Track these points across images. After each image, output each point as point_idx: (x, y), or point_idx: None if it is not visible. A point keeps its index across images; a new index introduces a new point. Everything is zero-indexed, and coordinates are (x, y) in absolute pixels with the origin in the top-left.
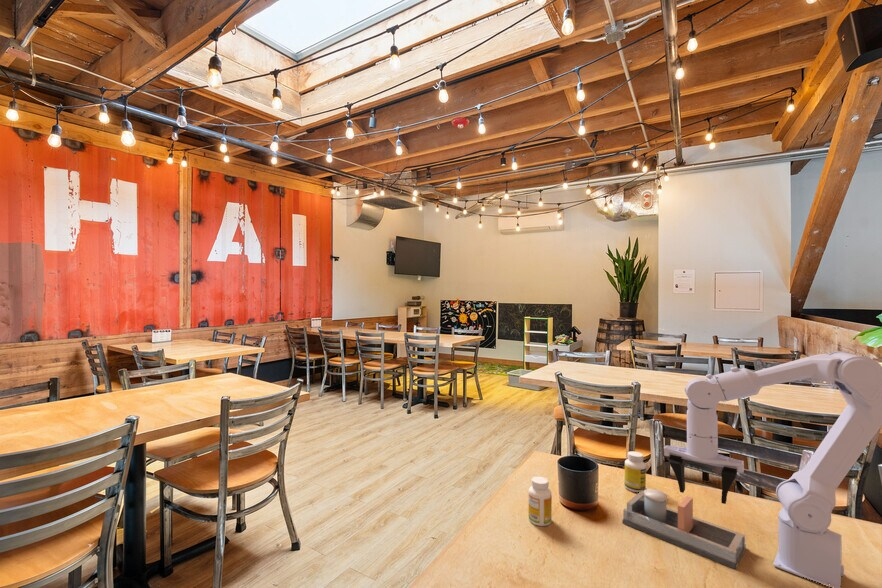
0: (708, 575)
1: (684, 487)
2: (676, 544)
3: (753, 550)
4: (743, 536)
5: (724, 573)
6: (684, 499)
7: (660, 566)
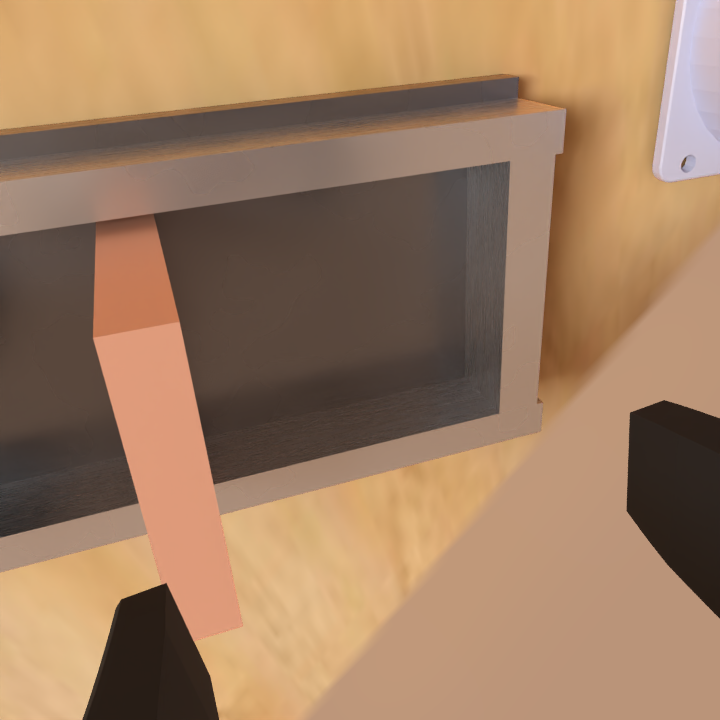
0: (408, 551)
1: (185, 654)
2: None
3: (545, 55)
4: (557, 150)
5: (458, 473)
6: (141, 467)
7: (228, 688)
